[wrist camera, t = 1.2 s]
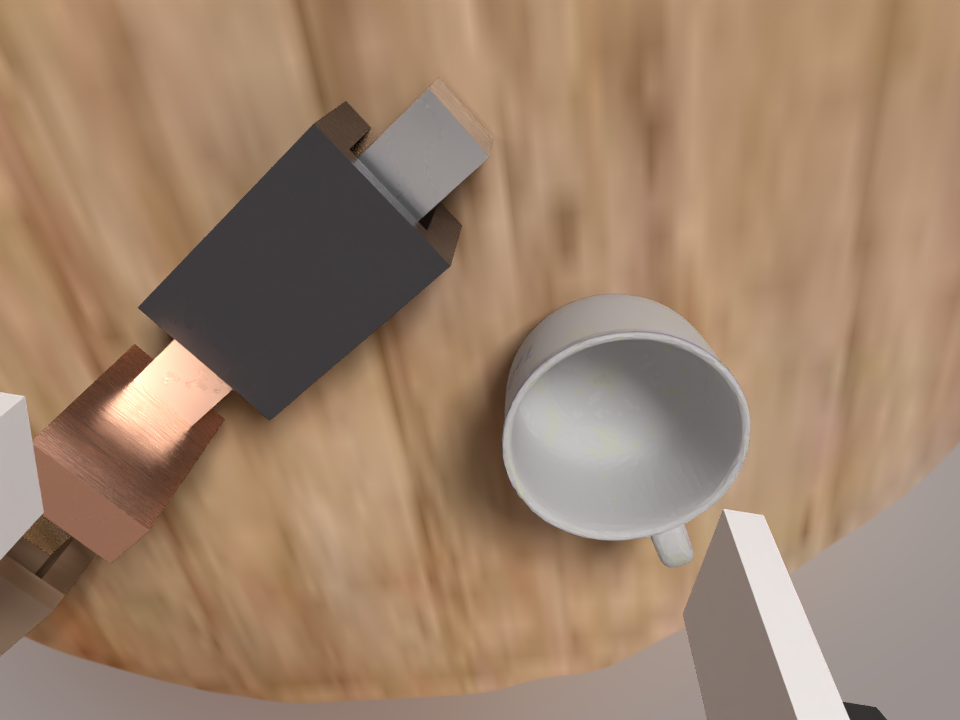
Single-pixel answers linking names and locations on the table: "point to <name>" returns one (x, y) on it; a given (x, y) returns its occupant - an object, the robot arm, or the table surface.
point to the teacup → (622, 423)
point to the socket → (35, 585)
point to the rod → (194, 387)
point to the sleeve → (301, 269)
